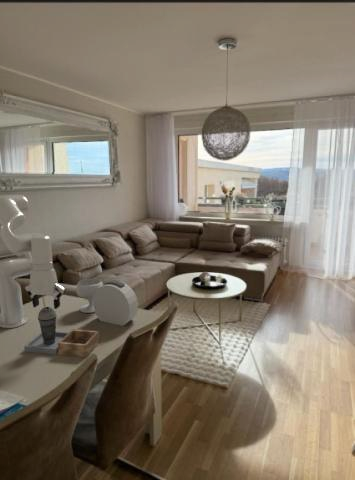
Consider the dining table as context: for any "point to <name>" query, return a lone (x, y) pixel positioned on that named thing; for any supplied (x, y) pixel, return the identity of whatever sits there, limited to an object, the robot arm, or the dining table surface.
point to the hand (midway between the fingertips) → (46, 306)
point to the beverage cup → (47, 324)
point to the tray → (40, 347)
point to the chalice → (88, 292)
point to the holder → (77, 349)
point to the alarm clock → (115, 303)
